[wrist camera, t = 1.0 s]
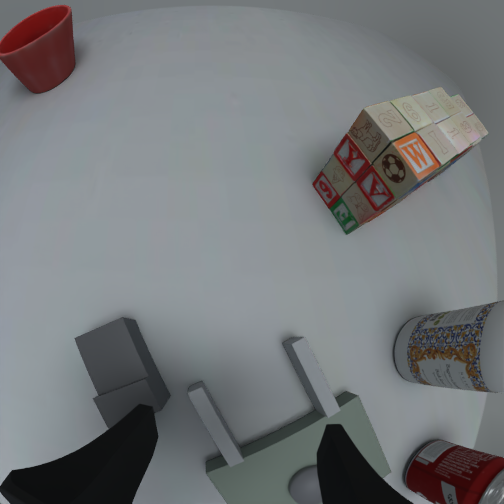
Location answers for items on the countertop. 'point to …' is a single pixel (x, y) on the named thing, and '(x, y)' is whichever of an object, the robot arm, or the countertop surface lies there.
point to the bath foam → (455, 349)
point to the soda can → (456, 475)
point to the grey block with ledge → (121, 370)
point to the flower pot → (41, 48)
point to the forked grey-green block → (286, 441)
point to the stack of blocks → (395, 153)
